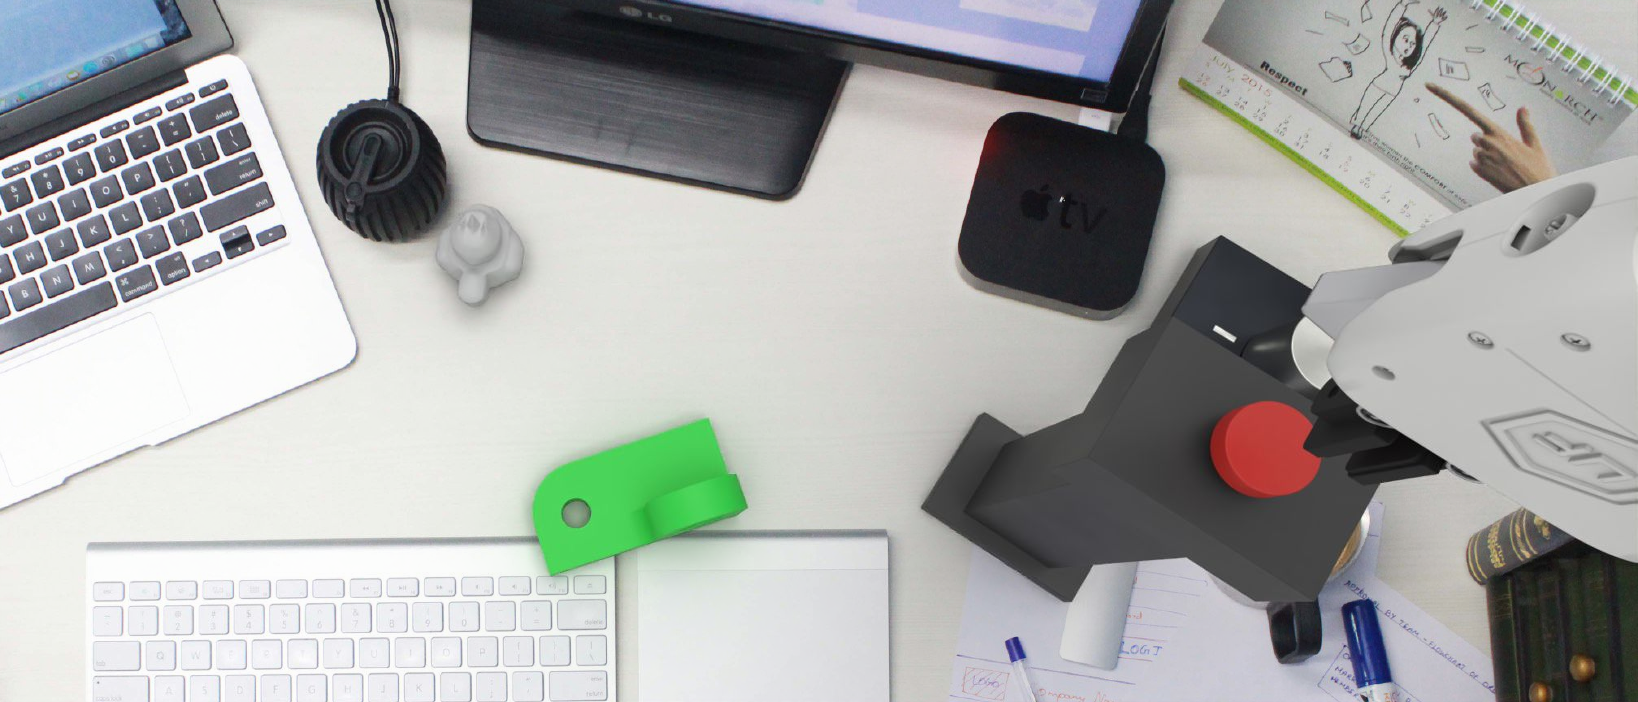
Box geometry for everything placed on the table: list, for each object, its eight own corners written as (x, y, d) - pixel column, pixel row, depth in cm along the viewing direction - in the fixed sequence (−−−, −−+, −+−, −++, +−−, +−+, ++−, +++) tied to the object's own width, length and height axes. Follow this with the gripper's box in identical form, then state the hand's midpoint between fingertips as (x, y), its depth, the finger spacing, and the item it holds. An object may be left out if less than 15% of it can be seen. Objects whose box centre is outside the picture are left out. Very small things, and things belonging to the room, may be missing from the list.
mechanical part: (706, 422, 74) (717, 400, 66) (738, 514, 73) (753, 503, 65) (522, 482, 74) (511, 467, 66) (551, 576, 72) (544, 572, 65)
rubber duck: (533, 224, 77) (524, 181, 69) (517, 322, 76) (506, 290, 68) (450, 213, 77) (432, 169, 70) (433, 311, 76) (413, 277, 68)
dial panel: (1398, 369, 74) (1433, 359, 71) (1316, 516, 72) (1347, 512, 69) (1197, 248, 76) (1222, 233, 73) (1112, 389, 74) (1134, 379, 71)
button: (1320, 439, 46) (1339, 435, 45) (1276, 516, 46) (1294, 514, 45) (1237, 388, 47) (1253, 382, 46) (1193, 463, 46) (1208, 460, 45)
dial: (1300, 427, 70) (1361, 412, 65) (1224, 380, 71) (1278, 361, 65) (1340, 359, 71) (1403, 338, 66) (1264, 313, 72) (1321, 288, 66)
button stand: (1121, 505, 73) (1397, 453, 47) (1064, 602, 72) (1315, 602, 46) (978, 414, 74) (1173, 315, 49) (920, 508, 73) (1087, 457, 47)
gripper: (1479, 231, 23) (1096, 395, 41) (2288, 699, 21) (1510, 655, 39) (1644, -64, 24) (1201, 221, 42) (2424, 352, 22) (1608, 465, 40)
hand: (1351, 429), depth 40 cm, fingers closed
